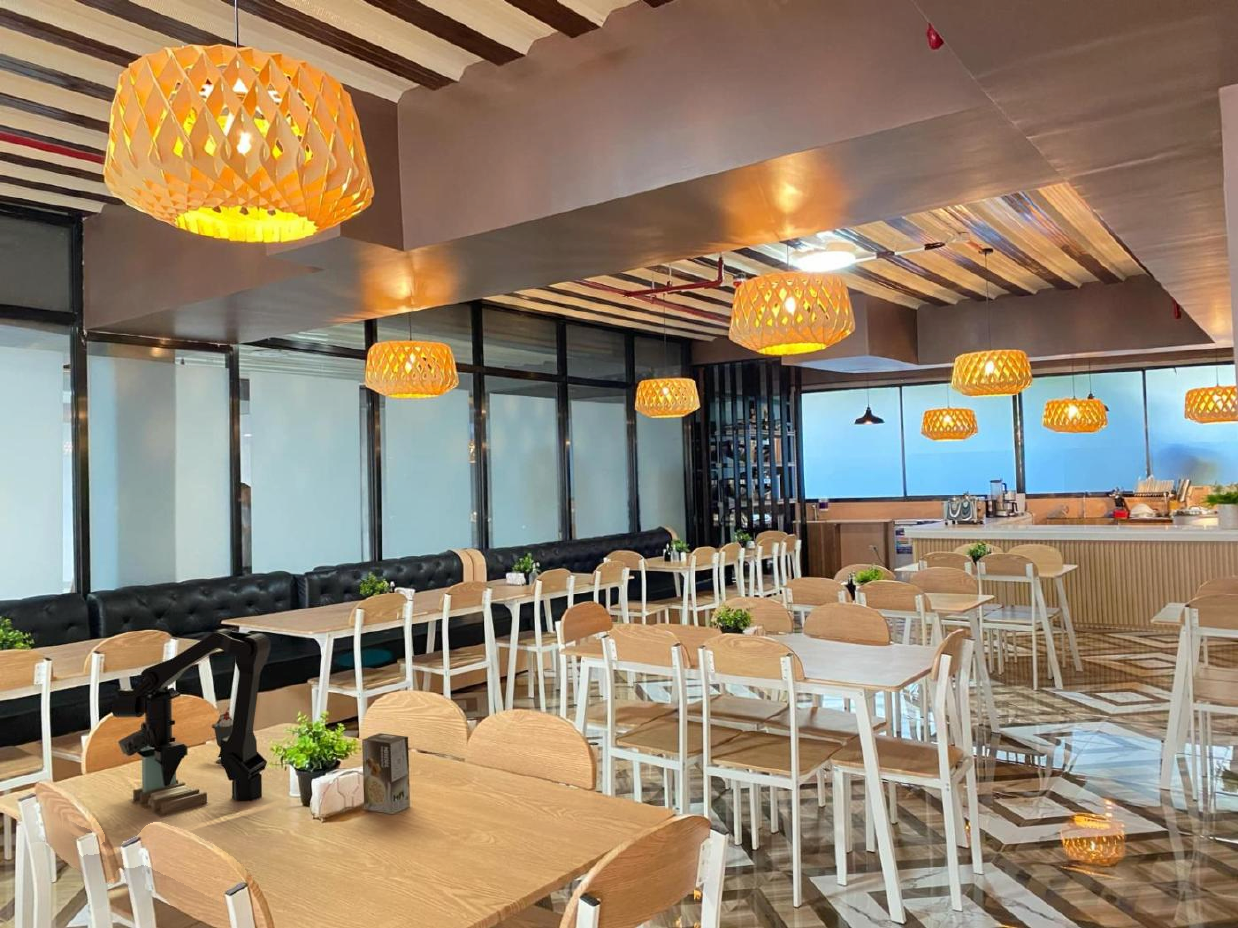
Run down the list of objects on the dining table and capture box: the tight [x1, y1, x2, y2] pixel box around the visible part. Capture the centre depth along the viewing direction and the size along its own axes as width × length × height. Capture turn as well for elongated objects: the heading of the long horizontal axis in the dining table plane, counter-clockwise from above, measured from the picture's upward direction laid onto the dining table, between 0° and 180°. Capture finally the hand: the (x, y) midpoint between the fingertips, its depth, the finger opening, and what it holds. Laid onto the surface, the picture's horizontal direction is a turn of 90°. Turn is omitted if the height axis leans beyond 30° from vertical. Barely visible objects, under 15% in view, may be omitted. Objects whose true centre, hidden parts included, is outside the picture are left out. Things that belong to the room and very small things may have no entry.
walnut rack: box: [129, 778, 212, 819], centre depth 211 cm, size 20×11×4 cm, turn 49°
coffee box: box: [361, 732, 411, 815], centre depth 206 cm, size 9×6×16 cm
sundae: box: [211, 706, 233, 764], centre depth 248 cm, size 7×7×15 cm
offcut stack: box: [148, 784, 192, 807], centre depth 212 cm, size 5×8×2 cm, turn 139°
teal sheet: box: [141, 755, 177, 793], centre depth 216 cm, size 2×7×10 cm, turn 139°
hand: (159, 782), depth 216 cm, fingers open, 8 cm apart
